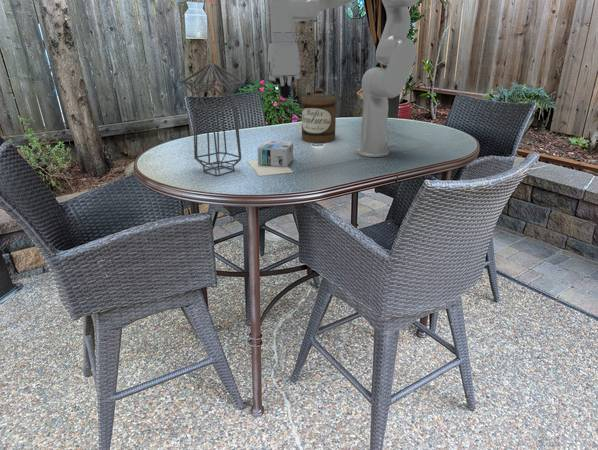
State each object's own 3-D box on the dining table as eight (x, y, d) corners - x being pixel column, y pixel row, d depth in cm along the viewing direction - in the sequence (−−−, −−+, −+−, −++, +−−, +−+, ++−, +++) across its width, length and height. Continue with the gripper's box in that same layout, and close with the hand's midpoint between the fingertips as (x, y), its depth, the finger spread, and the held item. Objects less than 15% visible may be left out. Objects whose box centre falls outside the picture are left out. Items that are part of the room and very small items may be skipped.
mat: (278, 158, 161) (278, 158, 161) (293, 172, 146) (293, 171, 146) (247, 162, 158) (247, 161, 158) (259, 176, 142) (259, 175, 142)
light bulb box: (286, 148, 148) (256, 146, 150) (286, 167, 151) (257, 165, 153) (293, 141, 158) (265, 139, 160) (293, 159, 160) (265, 157, 162)
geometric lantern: (187, 171, 148) (176, 63, 134) (225, 163, 158) (218, 62, 145) (213, 181, 138) (204, 65, 124) (252, 171, 148) (247, 63, 134)
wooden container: (297, 141, 187) (296, 89, 177) (307, 134, 199) (307, 85, 190) (330, 144, 182) (331, 90, 173) (338, 136, 195) (340, 86, 186)
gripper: (301, 37, 142) (302, 94, 150) (257, 39, 138) (260, 97, 146) (309, 38, 136) (309, 97, 144) (263, 39, 132) (266, 101, 139)
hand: (285, 97), depth 145 cm, fingers closed
